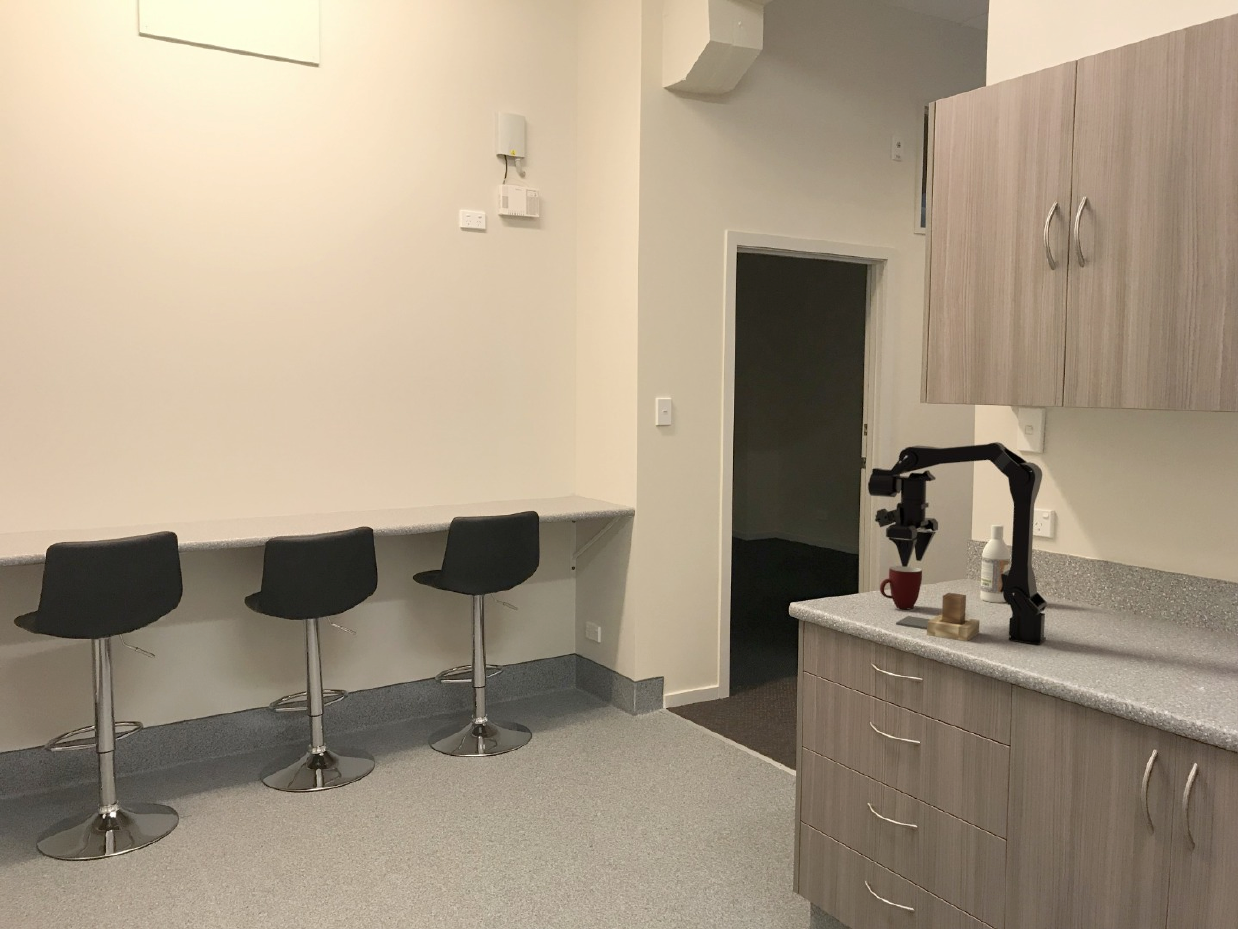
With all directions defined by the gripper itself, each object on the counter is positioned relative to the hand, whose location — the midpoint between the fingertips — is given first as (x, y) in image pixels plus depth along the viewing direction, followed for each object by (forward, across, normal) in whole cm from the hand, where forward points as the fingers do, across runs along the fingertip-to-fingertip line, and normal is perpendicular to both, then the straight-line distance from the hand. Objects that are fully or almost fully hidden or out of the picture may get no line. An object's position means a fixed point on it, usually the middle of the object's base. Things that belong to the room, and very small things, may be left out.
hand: (911, 563), depth 235 cm
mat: (+14, 0, +2) cm, 14 cm away
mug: (+14, -12, -7) cm, 20 cm away
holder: (+14, +4, +12) cm, 19 cm away
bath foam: (+14, -36, +9) cm, 40 cm away
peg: (+14, +4, +12) cm, 19 cm away
